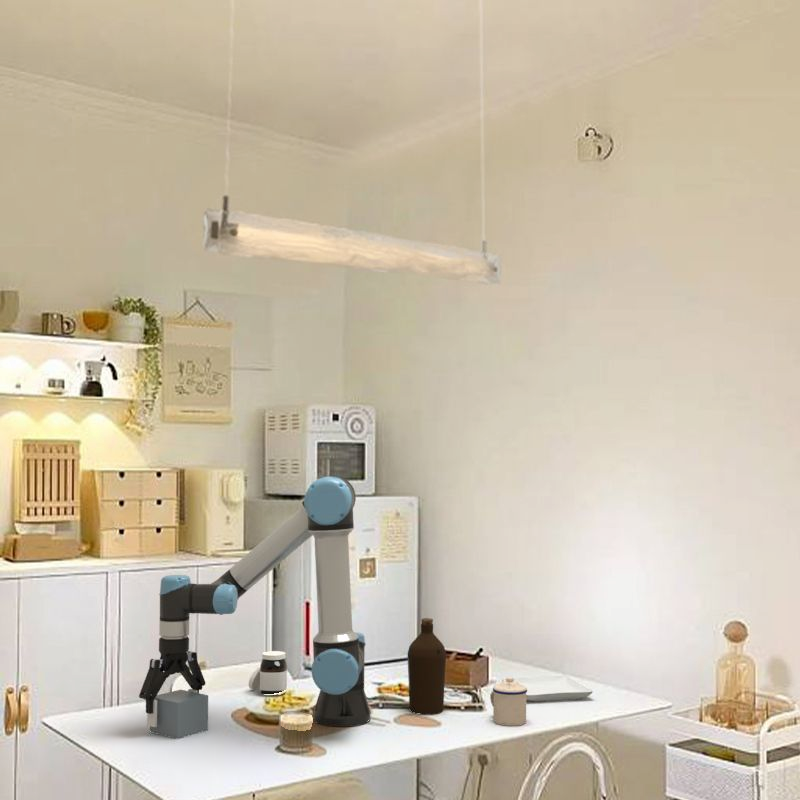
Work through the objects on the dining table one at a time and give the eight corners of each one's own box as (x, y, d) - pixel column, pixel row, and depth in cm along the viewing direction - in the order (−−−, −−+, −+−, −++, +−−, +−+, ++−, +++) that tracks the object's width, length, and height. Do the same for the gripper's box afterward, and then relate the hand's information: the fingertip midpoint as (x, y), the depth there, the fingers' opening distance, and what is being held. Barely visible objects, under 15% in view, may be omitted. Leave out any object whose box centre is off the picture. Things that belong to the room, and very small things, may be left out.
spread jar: (284, 697, 307) (284, 656, 307) (245, 697, 307) (245, 656, 308) (289, 688, 319) (289, 648, 319) (251, 687, 319) (252, 648, 320)
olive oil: (450, 708, 296) (451, 617, 297) (438, 717, 286) (438, 623, 287) (415, 704, 300) (415, 615, 301) (401, 713, 290) (402, 620, 291)
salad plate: (525, 706, 301) (525, 693, 302) (500, 689, 322) (500, 677, 322) (594, 702, 306) (594, 690, 306) (566, 686, 327) (566, 674, 327)
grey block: (207, 730, 271) (208, 695, 271) (177, 738, 263) (178, 702, 263) (180, 723, 277) (180, 689, 277) (149, 732, 269) (150, 696, 269)
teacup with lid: (534, 723, 281) (534, 678, 281) (508, 728, 276) (508, 682, 276) (503, 713, 291) (504, 670, 291) (478, 718, 285) (478, 674, 286)
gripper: (199, 628, 285) (198, 708, 284) (125, 641, 264) (124, 728, 264) (219, 631, 280) (218, 713, 279) (146, 645, 260) (144, 733, 259)
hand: (172, 720), depth 271 cm, fingers open, 13 cm apart
